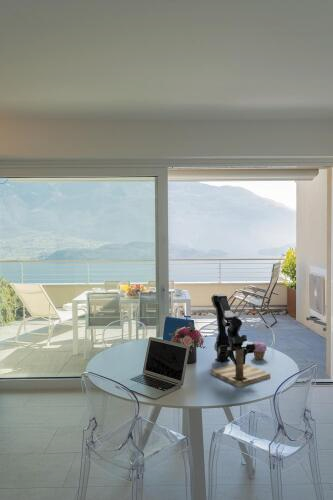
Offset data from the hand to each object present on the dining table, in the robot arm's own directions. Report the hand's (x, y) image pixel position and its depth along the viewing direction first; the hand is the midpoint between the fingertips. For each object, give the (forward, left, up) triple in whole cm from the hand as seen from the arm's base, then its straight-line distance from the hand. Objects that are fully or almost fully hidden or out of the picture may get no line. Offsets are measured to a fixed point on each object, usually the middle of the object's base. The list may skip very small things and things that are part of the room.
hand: (240, 364), depth 205 cm
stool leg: (-1, +1, -8) cm, 8 cm away
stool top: (-8, +7, -10) cm, 14 cm away
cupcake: (-21, +35, -10) cm, 42 cm away
